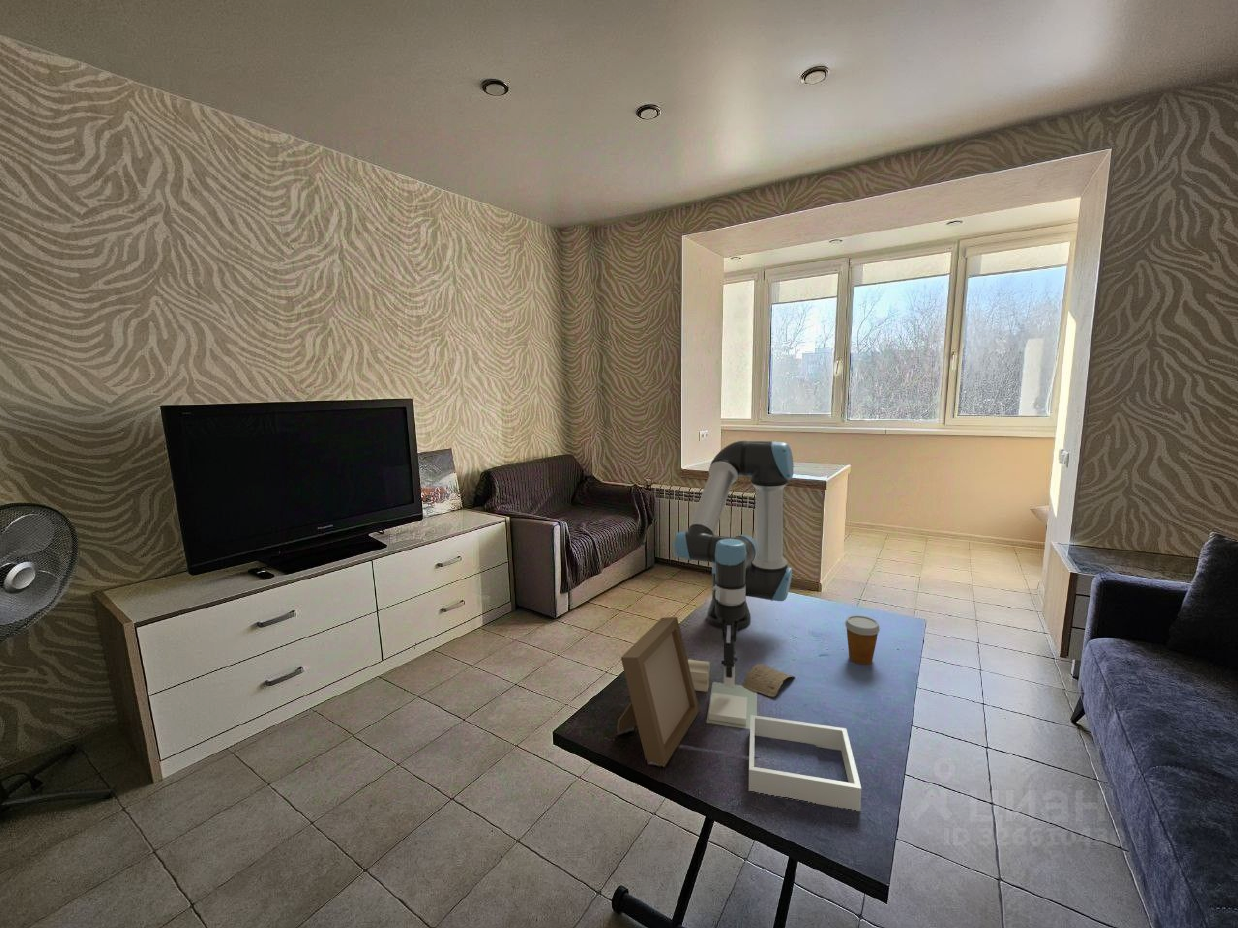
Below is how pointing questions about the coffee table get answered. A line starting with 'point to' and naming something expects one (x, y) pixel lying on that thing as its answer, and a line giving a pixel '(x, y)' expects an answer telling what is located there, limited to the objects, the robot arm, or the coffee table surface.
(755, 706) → the mat
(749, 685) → the clay tablet
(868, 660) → the disposable coffee cup
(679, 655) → the photo frame
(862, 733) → the coffee table surface
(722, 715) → the tile
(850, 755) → the white open rectangular frame
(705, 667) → the block
